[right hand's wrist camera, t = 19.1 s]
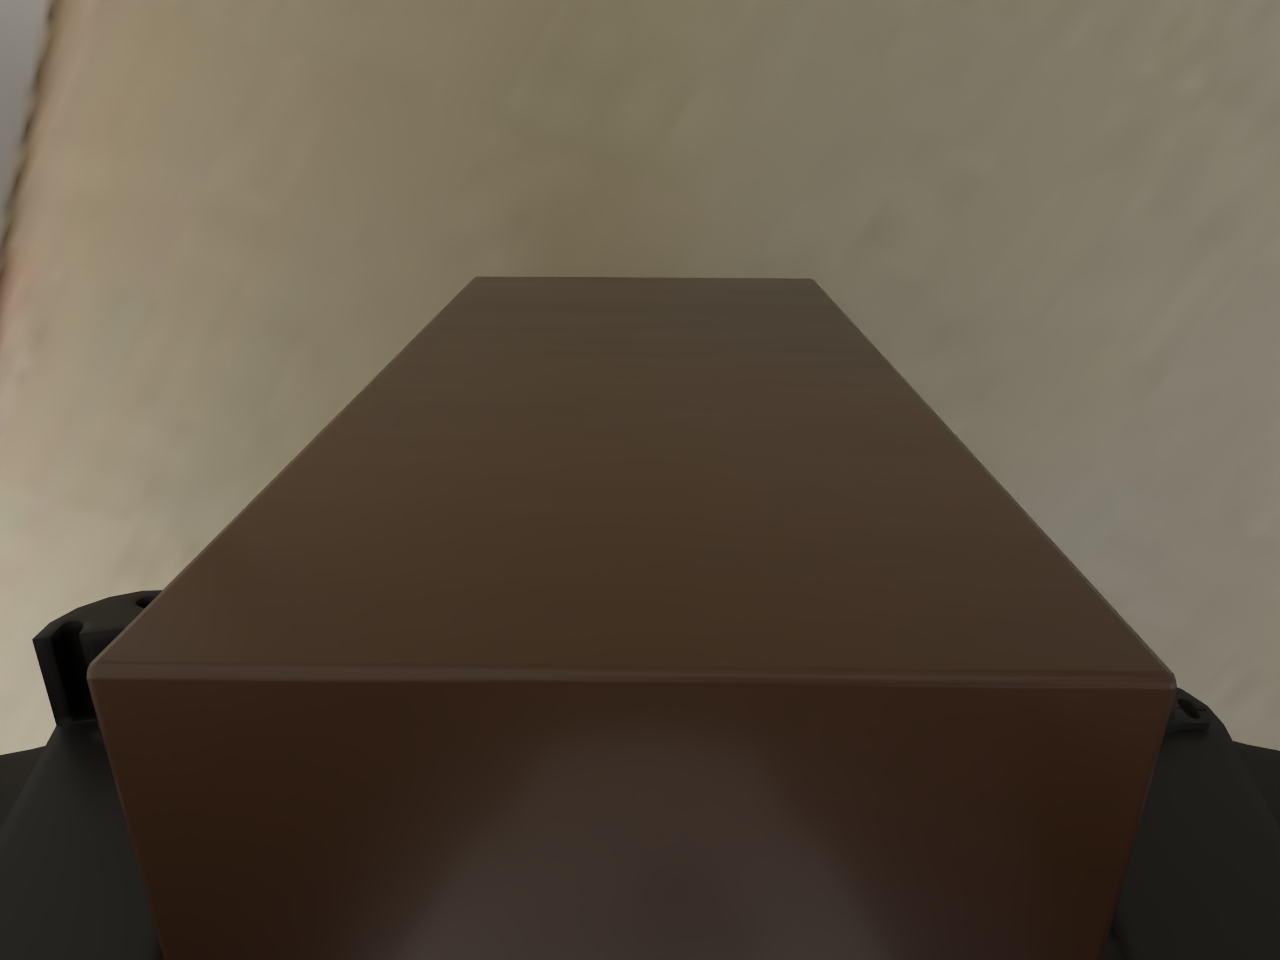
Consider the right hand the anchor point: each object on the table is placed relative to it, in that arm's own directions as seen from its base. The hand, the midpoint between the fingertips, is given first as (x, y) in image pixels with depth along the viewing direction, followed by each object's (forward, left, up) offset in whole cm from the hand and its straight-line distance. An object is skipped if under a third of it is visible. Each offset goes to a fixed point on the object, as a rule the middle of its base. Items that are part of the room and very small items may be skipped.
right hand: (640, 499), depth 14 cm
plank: (+11, +8, -1) cm, 14 cm away
